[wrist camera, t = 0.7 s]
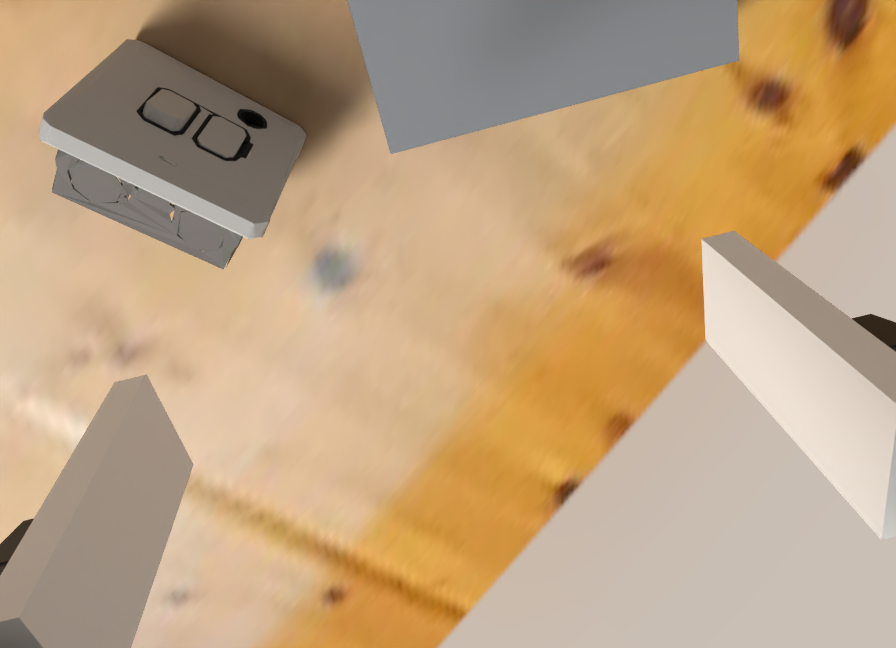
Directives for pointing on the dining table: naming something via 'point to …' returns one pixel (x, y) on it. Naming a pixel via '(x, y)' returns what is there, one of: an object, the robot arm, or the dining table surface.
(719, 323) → the robot arm
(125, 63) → the electrical switch
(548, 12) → the console
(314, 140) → the dining table surface
